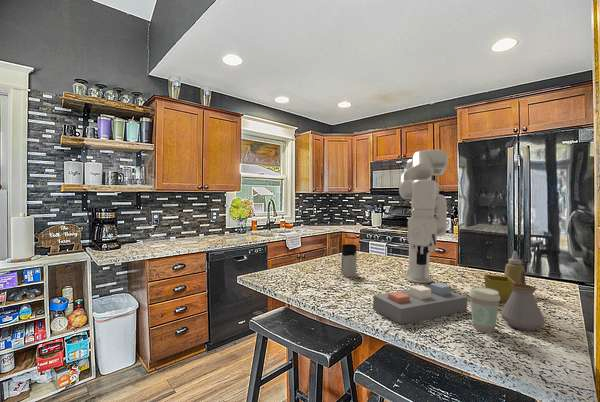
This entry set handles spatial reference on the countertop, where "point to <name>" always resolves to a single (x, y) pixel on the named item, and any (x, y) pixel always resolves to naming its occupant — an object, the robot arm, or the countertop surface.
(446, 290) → the key blue
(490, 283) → the flower pot
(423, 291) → the key white
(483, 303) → the coffee cup
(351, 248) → the glass holder
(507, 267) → the squeeze bottle
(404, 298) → the key red
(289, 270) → the countertop surface
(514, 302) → the coffee pot
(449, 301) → the console
